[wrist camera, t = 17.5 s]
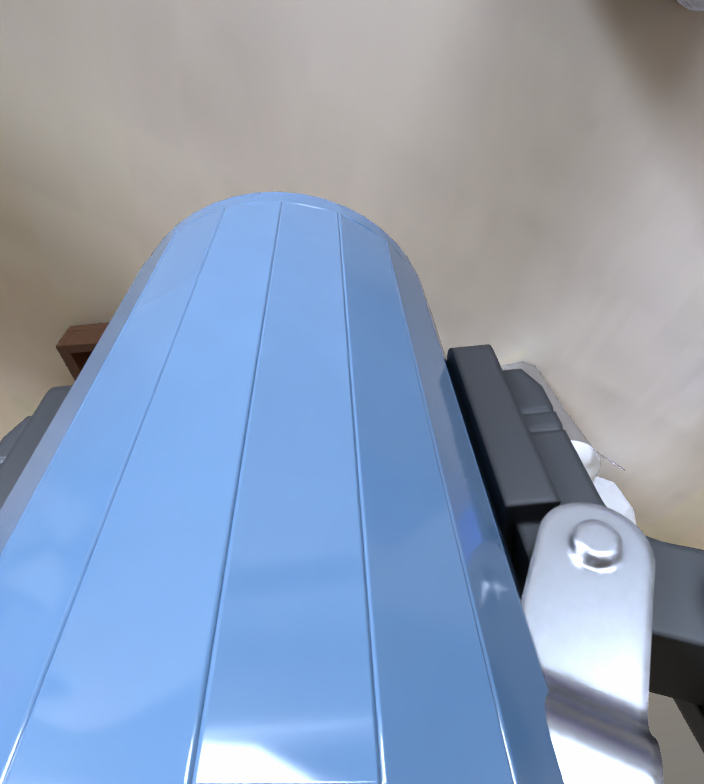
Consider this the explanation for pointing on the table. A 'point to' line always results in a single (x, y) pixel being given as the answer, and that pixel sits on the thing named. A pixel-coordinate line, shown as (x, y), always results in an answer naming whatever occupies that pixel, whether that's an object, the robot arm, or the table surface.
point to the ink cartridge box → (693, 4)
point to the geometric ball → (614, 498)
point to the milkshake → (566, 422)
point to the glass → (265, 534)
